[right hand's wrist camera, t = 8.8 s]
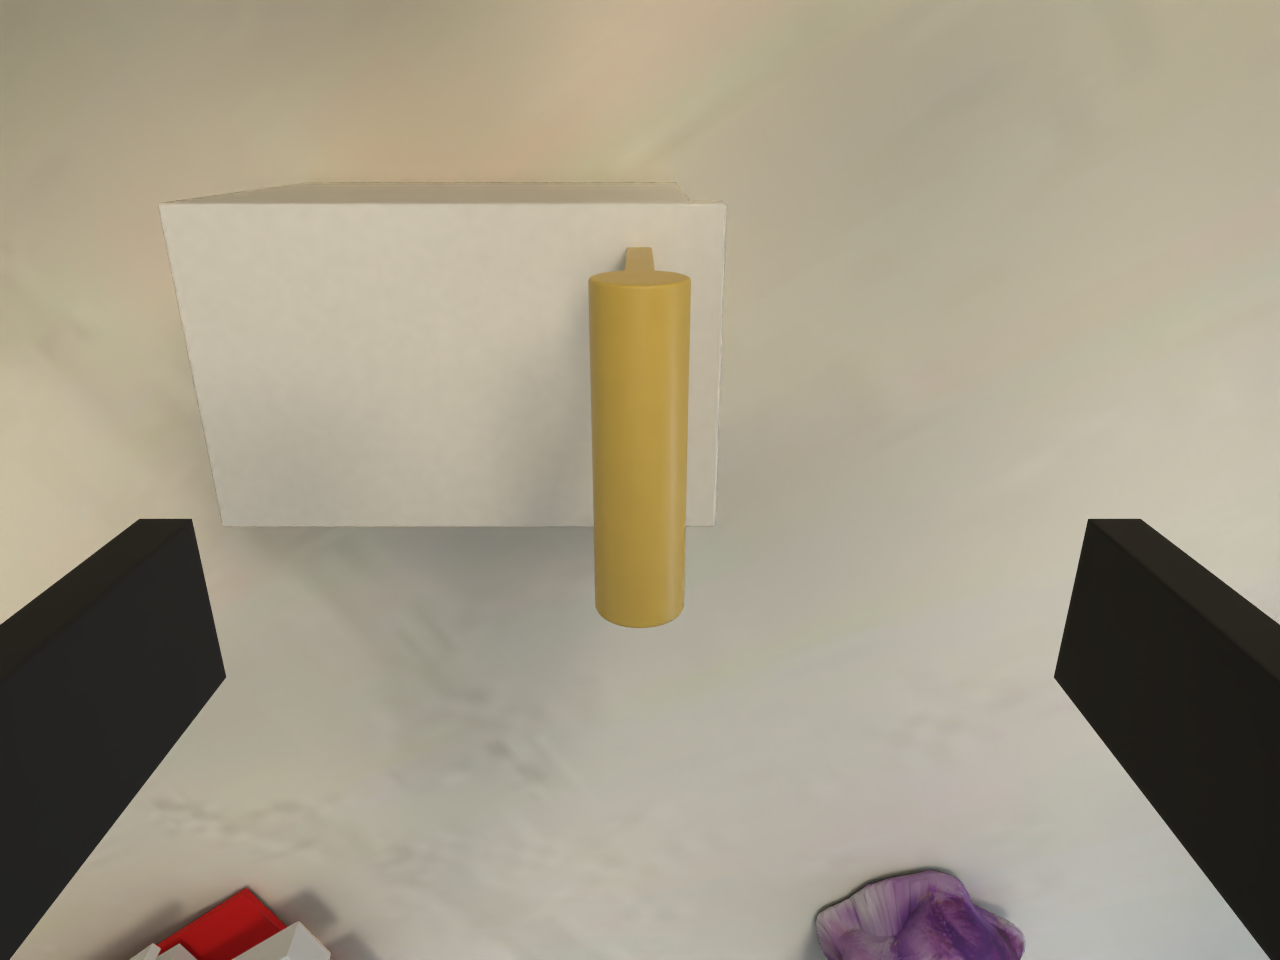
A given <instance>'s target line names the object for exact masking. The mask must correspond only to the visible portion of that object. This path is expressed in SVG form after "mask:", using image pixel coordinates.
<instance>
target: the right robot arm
mask: <svg viewBox="0 0 1280 960" xmlns="http://www.w3.org/2000/svg"><path fill="white" fill-rule="evenodd" d="M225 678H226V675H225V670H224V665H223V661H222V656H221V651H220V647H219V642H218V638H217V633H216V628H215V624H214V619H213V615H212V610H211V605H210V601H209V596H208V591H207V587H206V582H205V578H204V573H203V568H202V564H201V559H200V555H199V550H198V545H197V541H196V536H195V531H194V527H193V522H192V519H139V520H137V521H136V522H135V523H133V524H132V525H131V526H130V527H128V528H127V529H126V530H124V531H123V532H122V533H120V534H119V535H118V536H116V537H115V538H114V539H112V540H111V541H110V542H109V543H107V544H106V545H105V546H103V547H102V548H101V549H99V550H98V551H97V552H95V553H94V554H93V555H91V556H90V557H89V558H88V559H86V560H85V561H84V562H82V563H81V564H80V565H78V566H77V567H76V568H74V569H73V570H72V571H70V572H69V573H68V574H67V575H65V576H64V577H63V578H61V579H60V580H59V581H57V582H56V583H55V584H53V585H52V586H51V587H49V588H48V589H47V590H46V591H44V592H43V593H42V594H40V595H39V596H38V597H36V598H35V599H34V600H32V601H31V602H30V603H28V604H27V605H26V606H25V607H23V608H22V609H21V610H19V611H18V612H17V613H15V614H14V615H13V616H11V617H10V618H9V619H7V620H6V621H5V622H4V623H2V624H1V625H0V960H10V958H11V957H12V956H13V954H14V953H15V952H16V950H17V949H18V948H19V947H20V945H21V944H22V943H23V941H24V940H25V939H26V937H27V936H28V935H29V934H30V932H31V931H32V930H33V928H34V927H35V926H36V924H37V923H38V922H39V920H40V919H41V918H42V917H43V915H44V914H45V913H46V911H47V910H48V909H49V907H50V906H51V905H52V904H53V902H54V901H55V900H56V898H57V897H58V896H59V894H60V893H61V892H62V890H63V889H64V888H65V887H66V885H67V884H68V883H69V881H70V880H71V879H72V877H73V876H74V875H75V874H76V872H77V871H78V870H79V868H80V867H81V866H82V864H83V863H84V862H85V861H86V859H87V858H88V857H89V855H90V854H91V853H92V851H93V850H94V849H95V847H96V846H97V845H98V844H99V842H100V841H101V840H102V838H103V837H104V836H105V834H106V833H107V832H108V831H109V829H110V828H111V827H112V825H113V824H114V823H115V821H116V820H117V819H118V817H119V816H120V815H121V814H122V812H123V811H124V810H125V808H126V807H127V806H128V804H129V803H130V802H131V801H132V799H133V798H134V797H135V795H136V794H137V793H138V791H139V790H140V789H141V788H142V786H143V785H144V784H145V782H146V781H147V780H148V778H149V777H150V776H151V774H152V773H153V772H154V771H155V769H156V768H157V767H158V765H159V764H160V763H161V761H162V760H163V759H164V758H165V756H166V755H167V754H168V752H169V751H170V750H171V748H172V747H173V746H174V744H175V743H176V742H177V741H178V739H179V738H180V737H181V735H182V734H183V733H184V731H185V730H186V729H187V728H188V726H189V725H190V724H191V722H192V721H193V720H194V718H195V717H196V716H197V715H198V713H199V712H200V711H201V709H202V708H203V707H204V705H205V704H206V703H207V701H208V700H209V699H210V698H211V696H212V695H213V694H214V692H215V691H216V690H217V688H218V687H219V686H220V685H221V683H222V682H223V681H224V679H225ZM1054 678H1055V679H1056V681H1057V682H1058V683H1059V685H1060V686H1061V687H1062V688H1063V690H1064V691H1065V692H1066V694H1067V695H1068V696H1069V698H1070V699H1071V700H1072V701H1073V703H1074V704H1075V705H1076V707H1077V708H1078V709H1079V711H1080V712H1081V713H1082V715H1083V716H1084V717H1085V718H1086V720H1087V721H1088V722H1089V724H1090V725H1091V726H1092V728H1093V729H1094V730H1095V731H1096V733H1097V734H1098V735H1099V737H1100V738H1101V739H1102V741H1103V742H1104V743H1105V744H1106V746H1107V747H1108V748H1109V750H1110V751H1111V752H1112V754H1113V755H1114V756H1115V758H1116V759H1117V760H1118V761H1119V763H1120V764H1121V765H1122V767H1123V768H1124V769H1125V771H1126V772H1127V773H1128V774H1129V776H1130V777H1131V778H1132V780H1133V781H1134V782H1135V784H1136V785H1137V786H1138V788H1139V789H1140V790H1141V791H1142V793H1143V794H1144V795H1145V797H1146V798H1147V799H1148V801H1149V802H1150V803H1151V804H1152V806H1153V807H1154V808H1155V810H1156V811H1157V812H1158V814H1159V815H1160V816H1161V817H1162V819H1163V820H1164V821H1165V823H1166V824H1167V825H1168V827H1169V828H1170V829H1171V831H1172V832H1173V833H1174V834H1175V836H1176V837H1177V838H1178V840H1179V841H1180V842H1181V844H1182V845H1183V846H1184V847H1185V849H1186V850H1187V851H1188V853H1189V854H1190V855H1191V857H1192V858H1193V859H1194V861H1195V862H1196V863H1197V864H1198V866H1199V867H1200V868H1201V870H1202V871H1203V872H1204V874H1205V875H1206V876H1207V877H1208V879H1209V880H1210V881H1211V883H1212V884H1213V885H1214V887H1215V888H1216V889H1217V890H1218V892H1219V893H1220V894H1221V896H1222V897H1223V898H1224V900H1225V901H1226V902H1227V904H1228V905H1229V906H1230V907H1231V909H1232V910H1233V911H1234V913H1235V914H1236V915H1237V917H1238V918H1239V919H1240V920H1241V922H1242V923H1243V924H1244V926H1245V927H1246V928H1247V930H1248V931H1249V932H1250V934H1251V935H1252V936H1253V937H1254V939H1255V940H1256V941H1257V943H1258V944H1259V945H1260V947H1261V948H1262V949H1263V950H1264V952H1265V953H1266V954H1267V956H1268V957H1269V958H1270V960H1280V625H1279V624H1278V623H1276V622H1275V621H1274V620H1273V619H1271V618H1270V617H1269V616H1267V615H1266V614H1265V613H1263V612H1262V611H1261V610H1259V609H1258V608H1257V607H1255V606H1254V605H1253V604H1252V603H1250V602H1249V601H1248V600H1246V599H1245V598H1244V597H1242V596H1241V595H1240V594H1238V593H1237V592H1236V591H1234V590H1233V589H1232V588H1231V587H1229V586H1228V585H1227V584H1225V583H1224V582H1223V581H1221V580H1220V579H1219V578H1217V577H1216V576H1215V575H1213V574H1212V573H1211V572H1210V571H1208V570H1207V569H1206V568H1204V567H1203V566H1202V565H1200V564H1199V563H1198V562H1196V561H1195V560H1194V559H1192V558H1191V557H1190V556H1189V555H1187V554H1186V553H1185V552H1183V551H1182V550H1181V549H1179V548H1178V547H1177V546H1175V545H1174V544H1173V543H1171V542H1170V541H1169V540H1168V539H1166V538H1165V537H1164V536H1162V535H1161V534H1160V533H1158V532H1157V531H1156V530H1154V529H1153V528H1152V527H1150V526H1149V525H1148V524H1146V523H1145V522H1144V521H1143V520H1141V519H1088V522H1087V527H1086V531H1085V536H1084V541H1083V545H1082V550H1081V555H1080V559H1079V564H1078V568H1077V573H1076V578H1075V582H1074V587H1073V591H1072V596H1071V601H1070V605H1069V610H1068V615H1067V619H1066V624H1065V628H1064V633H1063V638H1062V642H1061V647H1060V651H1059V656H1058V661H1057V665H1056V670H1055V675H1054Z"/></svg>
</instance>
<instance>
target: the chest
mask: <svg viewBox="0 0 1280 960" xmlns="http://www.w3.org/2000/svg"><path fill="white" fill-rule="evenodd" d="M177 201H691V200H690V199H689V198H688V197H687V195H686V194H685V193H684V192H683V191H682V189H681V188H680V187H679V186H678V184H677V183H302V184H295V185H288V186H280V187H273V188H265V189H258V190H251V191H243V192H236V193H229V194H221V195H214V196H207V197H199V198H192V199H185V200H177Z"/></svg>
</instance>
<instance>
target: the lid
mask: <svg viewBox="0 0 1280 960" xmlns="http://www.w3.org/2000/svg"><path fill="white" fill-rule="evenodd" d="M158 208H159V213H160V218H161V223H162V228H163V233H164V238H165V243H166V247H167V252H168V257H169V262H170V267H171V272H172V277H173V282H174V287H175V292H176V297H177V302H178V307H179V312H180V317H181V322H182V327H183V331H184V336H185V341H186V346H187V351H188V356H189V361H190V366H191V371H192V376H193V381H194V386H195V391H196V396H197V401H198V406H199V411H200V415H201V420H202V425H203V430H204V435H205V440H206V445H207V450H208V455H209V460H210V465H211V470H212V475H213V480H214V485H215V490H216V495H217V499H218V504H219V509H220V514H221V519H222V524H223V526H224V527H594V561H595V604H596V609H597V611H598V613H599V614H600V615H601V616H602V617H603V618H604V619H606V620H607V621H609V622H611V623H614V624H616V625H620V626H624V627H631V628H648V627H655V626H659V625H663V624H666V623H668V622H670V621H672V620H674V619H675V618H676V617H678V616H679V615H680V613H681V612H682V610H683V607H684V578H685V533H686V527H713V526H715V517H716V489H717V462H718V434H719V407H720V380H721V352H722V325H723V297H724V270H725V242H726V215H727V205H726V203H724V202H723V201H171V202H164V203H159V204H158Z"/></svg>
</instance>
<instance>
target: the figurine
mask: <svg viewBox="0 0 1280 960" xmlns="http://www.w3.org/2000/svg"><path fill="white" fill-rule="evenodd" d="M816 928H817V932H818V935H819V937H818V938H819V942H820V945H821V949H822V951H823V952H824V954H825V956H826V957H827V958H828V960H1020V959H1021V957H1022V955H1023V953H1024V951H1025V944H1026V942H1025V938H1024V935H1023V933H1022V932H1021V930H1020V929H1019V928H1018V927H1016V926H1015V925H1014V924H1013V923H1011V922H1009V921H1008V920H1006V919H1004V918H1002V917H1000V916H998V915H996V914H994V913H991V912H988V911H986V910H984V909H982V908H979V907H977V906H976V905H974V904H973V903H972V902H971V899H970V897H969V894H968V893H967V891H966V889H965V887H964V885H963V884H962V883H961V881H960V880H959V879H957V878H955V877H954V876H952V875H951V874H946V873H942V872H939V871H936V870H926V871H923V872H920V873H915V874H909V875H904V876H898V877H893V878H888V879H885V880H881V881H878V882H875V883H873V884H867V885H866V886H865V887H864V888H863V889H861V890H859V891H858V892H856V893H855V894H854V895H852V896H851V897H850V898H849V899H847V900H844V901H843V902H841V903H838V904H835V905H834V906H830V907H829V908H827V909H826V910H824V911H822V912H821V913H819V914H818V916H817V920H816Z"/></svg>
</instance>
